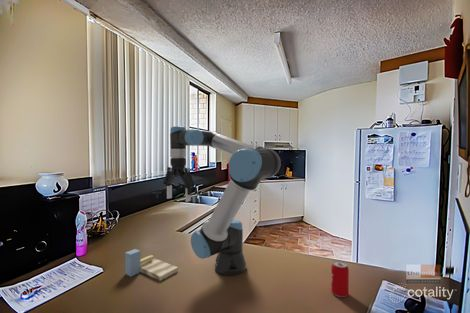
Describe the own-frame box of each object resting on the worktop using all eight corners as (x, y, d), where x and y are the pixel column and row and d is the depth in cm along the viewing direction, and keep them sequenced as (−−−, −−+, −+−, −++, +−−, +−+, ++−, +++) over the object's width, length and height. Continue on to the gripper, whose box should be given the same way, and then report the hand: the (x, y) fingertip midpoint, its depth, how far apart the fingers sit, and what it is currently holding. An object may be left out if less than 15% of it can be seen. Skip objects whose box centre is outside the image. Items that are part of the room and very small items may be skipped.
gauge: (154, 265, 121) (154, 245, 120) (130, 276, 110) (130, 254, 110) (149, 263, 123) (149, 243, 123) (125, 274, 112) (125, 252, 112)
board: (177, 271, 114) (177, 267, 114) (160, 280, 106) (160, 276, 106) (151, 260, 126) (151, 256, 126) (133, 268, 118) (133, 264, 118)
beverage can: (343, 289, 100) (344, 260, 99) (351, 298, 94) (351, 267, 93) (328, 289, 100) (328, 260, 99) (335, 298, 93) (335, 267, 93)
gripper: (201, 157, 119) (202, 201, 119) (167, 157, 133) (167, 196, 134) (190, 158, 113) (190, 204, 113) (156, 157, 127) (156, 198, 127)
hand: (178, 199), depth 123 cm, fingers open, 13 cm apart
